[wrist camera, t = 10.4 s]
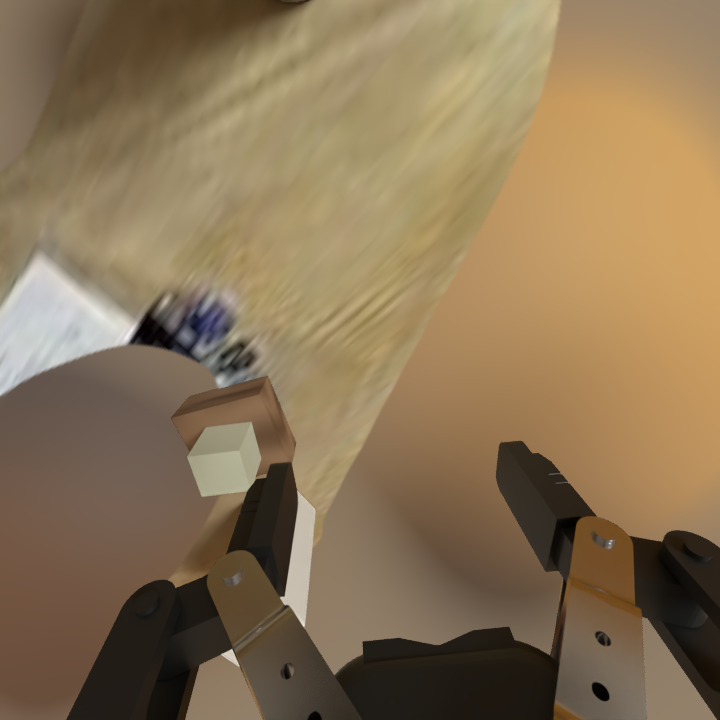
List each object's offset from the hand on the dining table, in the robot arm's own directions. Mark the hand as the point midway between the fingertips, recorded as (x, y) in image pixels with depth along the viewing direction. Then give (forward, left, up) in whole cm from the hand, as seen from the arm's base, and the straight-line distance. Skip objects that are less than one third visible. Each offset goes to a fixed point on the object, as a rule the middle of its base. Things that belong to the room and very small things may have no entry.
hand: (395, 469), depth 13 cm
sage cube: (+13, -16, -22) cm, 30 cm away
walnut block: (+13, -16, -27) cm, 34 cm away
